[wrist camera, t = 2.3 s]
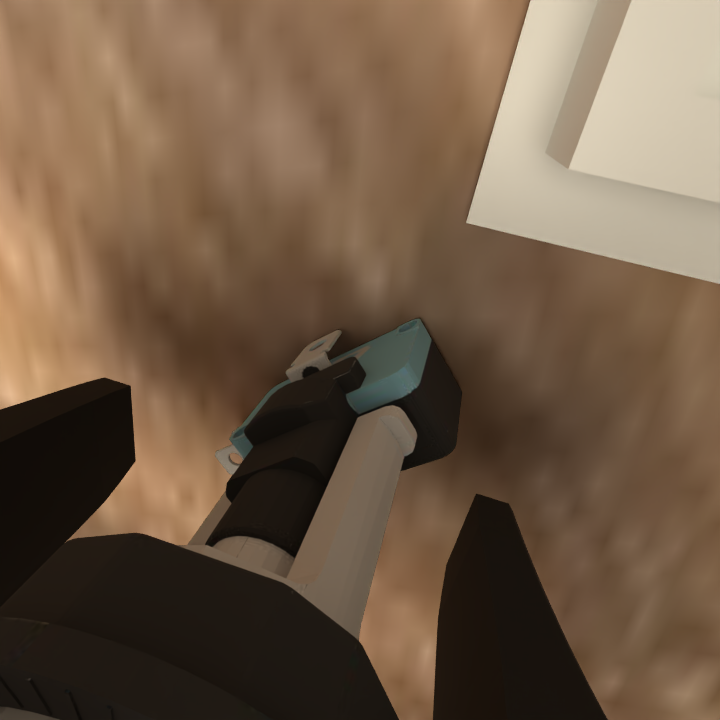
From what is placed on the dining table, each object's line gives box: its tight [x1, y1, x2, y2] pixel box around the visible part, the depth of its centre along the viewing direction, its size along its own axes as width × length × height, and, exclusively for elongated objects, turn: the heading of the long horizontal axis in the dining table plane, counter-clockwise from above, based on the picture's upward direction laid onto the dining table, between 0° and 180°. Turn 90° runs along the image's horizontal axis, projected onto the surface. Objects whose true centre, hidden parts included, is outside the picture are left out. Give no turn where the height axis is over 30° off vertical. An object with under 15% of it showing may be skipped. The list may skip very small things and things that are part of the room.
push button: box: [0, 319, 462, 720], centre depth 8 cm, size 7×5×10 cm
